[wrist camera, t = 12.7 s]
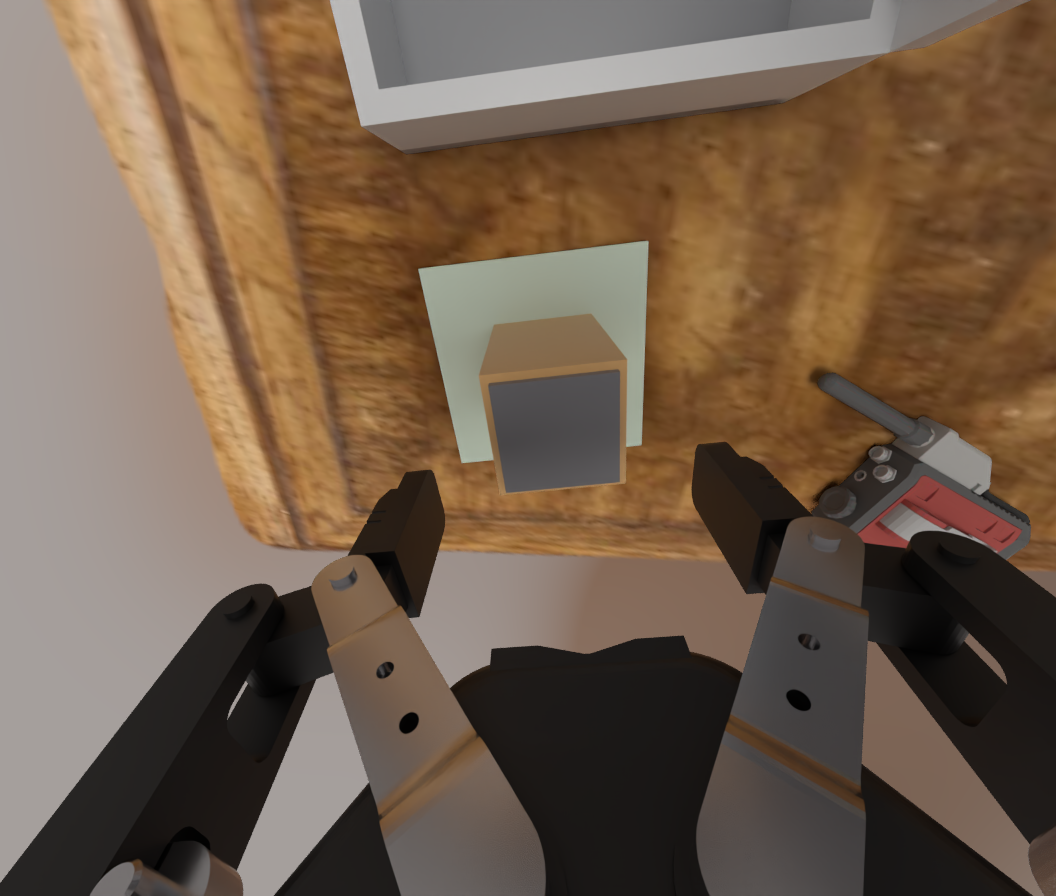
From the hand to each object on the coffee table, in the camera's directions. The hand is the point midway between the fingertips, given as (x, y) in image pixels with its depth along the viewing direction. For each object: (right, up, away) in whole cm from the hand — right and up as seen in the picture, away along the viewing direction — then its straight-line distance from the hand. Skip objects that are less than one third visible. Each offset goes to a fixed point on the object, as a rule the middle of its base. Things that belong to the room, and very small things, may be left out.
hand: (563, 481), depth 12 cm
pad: (0, +6, +10) cm, 11 cm away
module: (0, +5, +9) cm, 11 cm away
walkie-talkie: (+22, -1, +14) cm, 26 cm away
